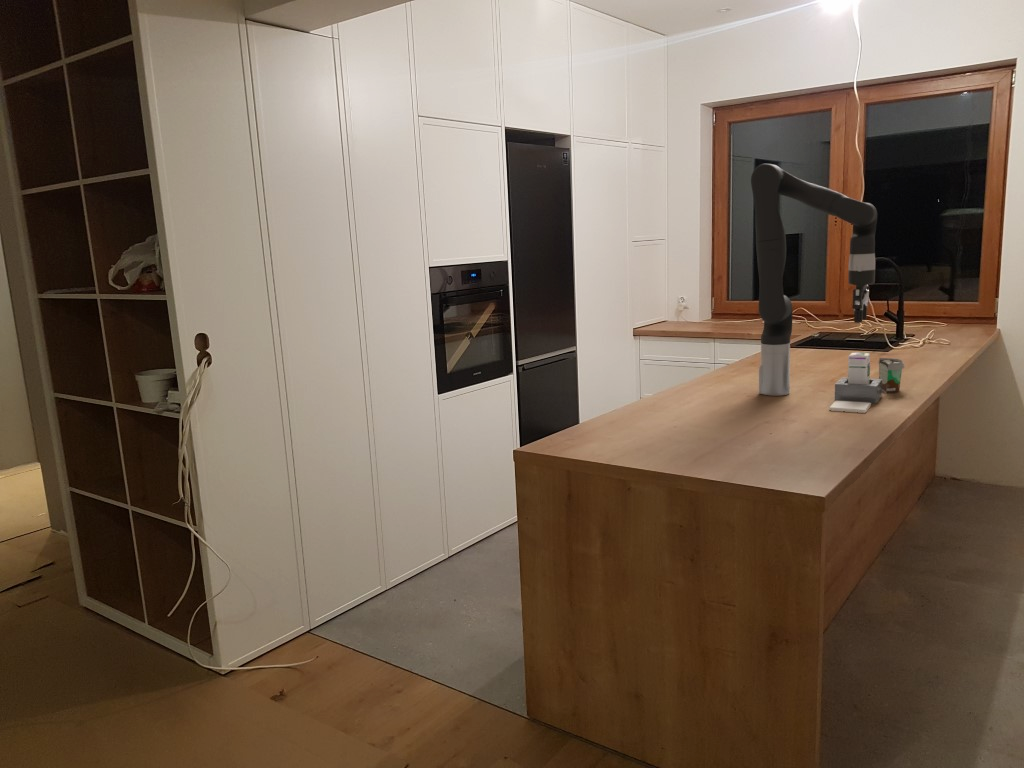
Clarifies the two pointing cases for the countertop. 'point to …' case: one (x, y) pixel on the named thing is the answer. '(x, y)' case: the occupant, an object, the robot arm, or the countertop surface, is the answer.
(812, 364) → the countertop surface
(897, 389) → the food container
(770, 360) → the robot arm
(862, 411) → the pad
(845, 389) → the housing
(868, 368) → the syrup box
